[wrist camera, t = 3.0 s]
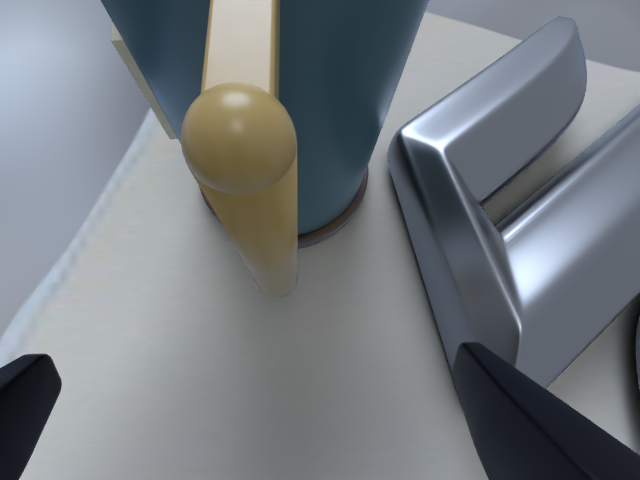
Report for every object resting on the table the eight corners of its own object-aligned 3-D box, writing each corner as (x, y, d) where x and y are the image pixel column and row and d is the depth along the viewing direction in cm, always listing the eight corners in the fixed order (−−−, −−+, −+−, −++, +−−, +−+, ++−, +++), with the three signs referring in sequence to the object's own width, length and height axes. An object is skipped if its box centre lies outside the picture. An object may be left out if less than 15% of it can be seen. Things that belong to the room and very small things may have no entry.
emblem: (1039, 632, 12) (321, 359, 14) (824, 551, 17) (315, 358, 19) (889, 72, 21) (461, -59, 23) (776, 126, 26) (431, 17, 28)
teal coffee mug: (329, 326, 18) (449, 219, 4) (145, 279, 18) (-413, 10, 4) (376, 115, 23) (511, -299, 8) (227, 80, 23) (108, -385, 9)
